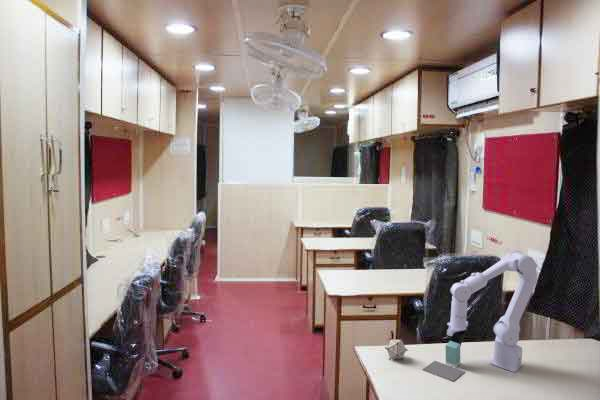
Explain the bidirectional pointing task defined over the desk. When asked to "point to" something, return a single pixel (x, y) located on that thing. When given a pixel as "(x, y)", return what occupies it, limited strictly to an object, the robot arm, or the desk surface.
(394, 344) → the game die
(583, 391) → the desk surface
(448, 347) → the teal block
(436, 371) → the pad
